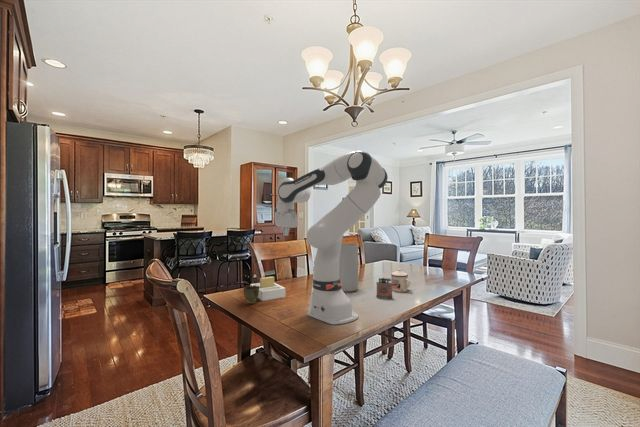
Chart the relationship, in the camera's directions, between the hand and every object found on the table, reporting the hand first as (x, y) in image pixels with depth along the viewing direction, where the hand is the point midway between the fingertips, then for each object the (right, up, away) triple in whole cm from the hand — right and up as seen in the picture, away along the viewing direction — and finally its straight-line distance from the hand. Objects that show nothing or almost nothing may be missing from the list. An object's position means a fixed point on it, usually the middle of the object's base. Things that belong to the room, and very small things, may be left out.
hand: (285, 235), depth 151 cm
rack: (-10, -31, +1) cm, 33 cm away
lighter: (+50, -31, -5) cm, 60 cm away
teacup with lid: (+63, -31, +8) cm, 70 cm away
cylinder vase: (+33, -31, +12) cm, 47 cm away
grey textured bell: (-15, -31, -14) cm, 37 cm away
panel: (-10, -30, +1) cm, 32 cm away
